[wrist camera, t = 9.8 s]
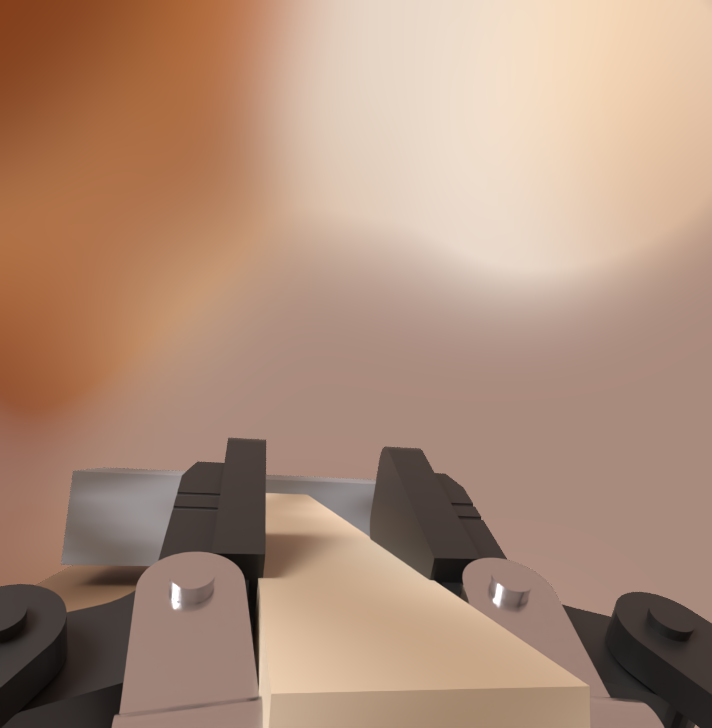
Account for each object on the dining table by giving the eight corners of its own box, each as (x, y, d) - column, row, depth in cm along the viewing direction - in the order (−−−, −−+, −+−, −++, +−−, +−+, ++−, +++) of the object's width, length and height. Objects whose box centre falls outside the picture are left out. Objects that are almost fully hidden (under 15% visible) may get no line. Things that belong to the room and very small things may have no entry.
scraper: (424, 551, 29) (426, 482, 30) (1286, 1026, 5) (1212, 611, 6) (94, 544, 26) (103, 467, 27) (-1565, 1564, 2) (-1134, 605, 3)
